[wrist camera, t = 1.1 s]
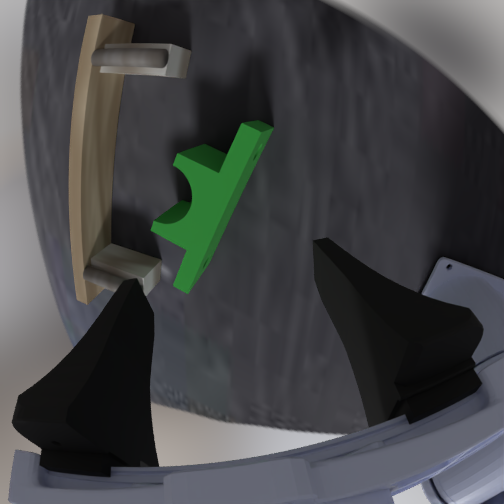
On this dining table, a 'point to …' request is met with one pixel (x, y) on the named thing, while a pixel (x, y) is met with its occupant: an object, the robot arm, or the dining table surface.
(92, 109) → the wooden drawer handle
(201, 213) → the pipe clamp
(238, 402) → the dining table surface
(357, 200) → the dining table surface
